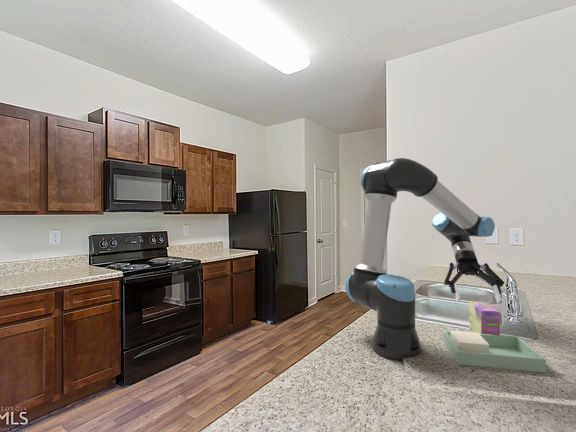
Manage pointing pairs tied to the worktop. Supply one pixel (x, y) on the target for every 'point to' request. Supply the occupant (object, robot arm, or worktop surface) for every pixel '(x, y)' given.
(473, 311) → the box
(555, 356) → the worktop surface
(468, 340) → the carton
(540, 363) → the tote
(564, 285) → the worktop surface
